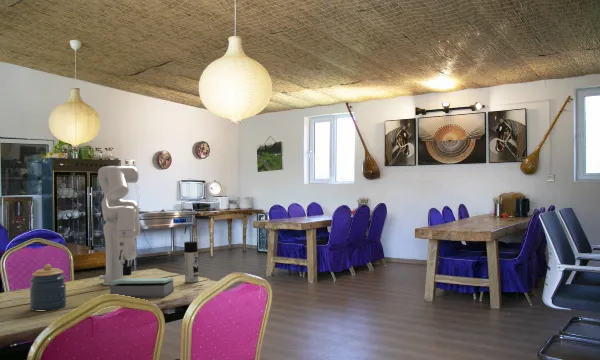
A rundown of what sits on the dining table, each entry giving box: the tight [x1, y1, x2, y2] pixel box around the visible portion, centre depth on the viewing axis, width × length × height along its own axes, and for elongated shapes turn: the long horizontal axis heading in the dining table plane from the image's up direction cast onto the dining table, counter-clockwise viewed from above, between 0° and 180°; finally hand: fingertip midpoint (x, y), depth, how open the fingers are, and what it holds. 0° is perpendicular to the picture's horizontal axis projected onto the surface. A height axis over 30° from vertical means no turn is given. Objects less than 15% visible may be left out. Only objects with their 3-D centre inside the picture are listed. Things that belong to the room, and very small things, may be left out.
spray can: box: [183, 240, 200, 284], centre depth 236 cm, size 7×7×20 cm
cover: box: [110, 277, 174, 284], centre depth 209 cm, size 24×12×1 cm, turn 87°
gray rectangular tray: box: [109, 279, 174, 299], centre depth 209 cm, size 24×12×5 cm, turn 87°
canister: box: [29, 263, 67, 311], centre depth 189 cm, size 13×13×18 cm
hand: (127, 275), depth 209 cm, fingers closed
